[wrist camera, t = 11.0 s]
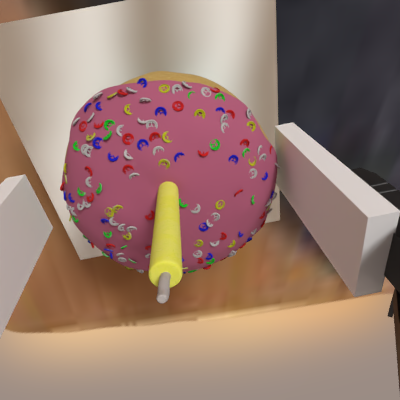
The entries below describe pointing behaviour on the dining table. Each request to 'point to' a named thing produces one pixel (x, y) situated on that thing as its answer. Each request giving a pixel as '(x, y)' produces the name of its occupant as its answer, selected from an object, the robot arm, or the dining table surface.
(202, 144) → the cupcake
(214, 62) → the white box
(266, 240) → the dining table surface
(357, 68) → the dining table surface
